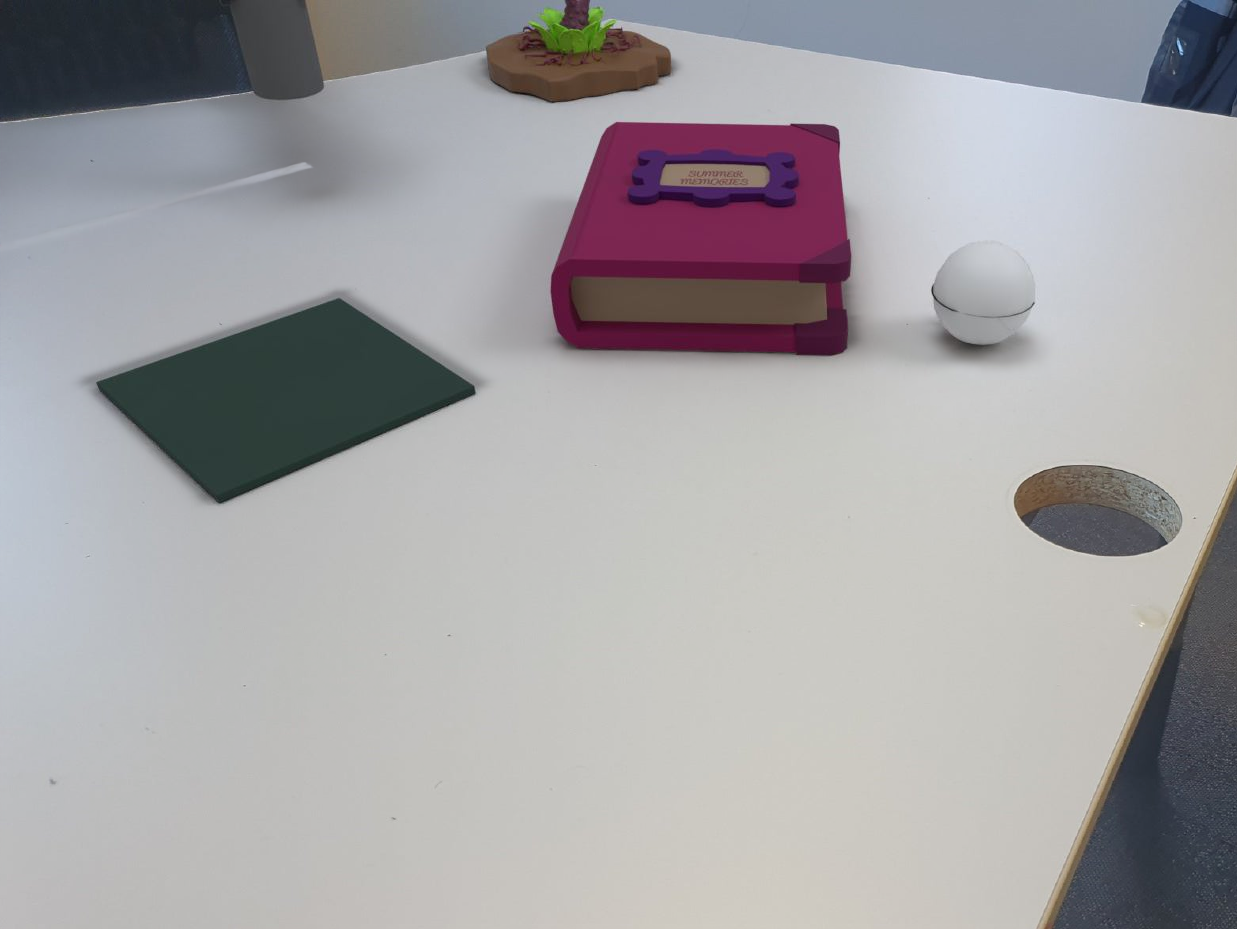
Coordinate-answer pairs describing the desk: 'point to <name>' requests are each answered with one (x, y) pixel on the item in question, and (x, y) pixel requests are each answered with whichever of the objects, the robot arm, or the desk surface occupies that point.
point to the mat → (281, 395)
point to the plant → (575, 56)
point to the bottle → (278, 48)
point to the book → (707, 241)
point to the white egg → (983, 292)
